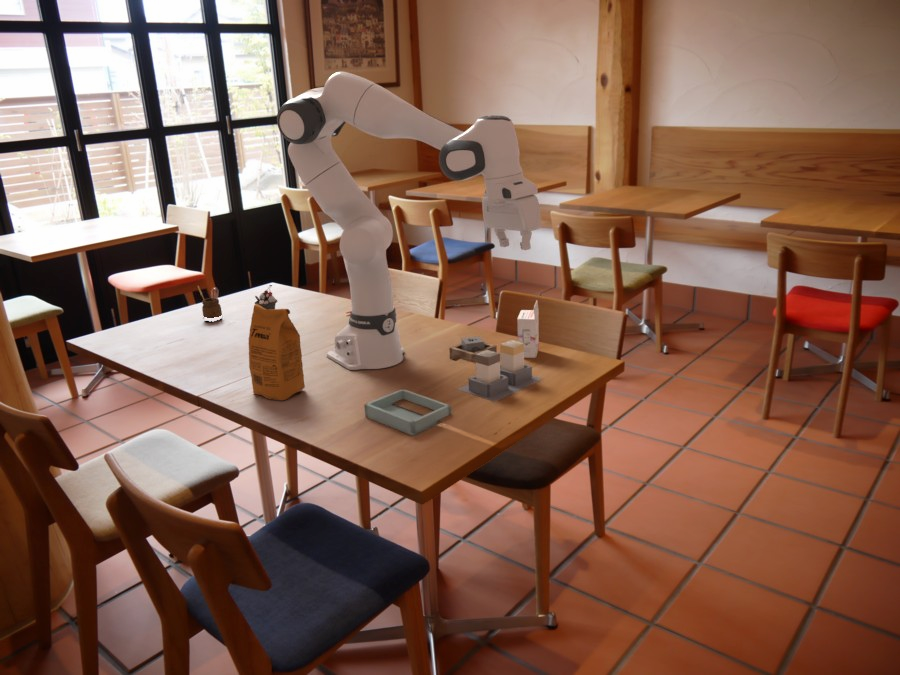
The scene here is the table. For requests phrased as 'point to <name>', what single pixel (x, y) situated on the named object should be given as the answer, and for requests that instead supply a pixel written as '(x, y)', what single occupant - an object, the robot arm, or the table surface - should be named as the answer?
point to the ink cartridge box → (529, 331)
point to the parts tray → (406, 412)
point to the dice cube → (472, 344)
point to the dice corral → (458, 353)
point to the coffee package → (274, 354)
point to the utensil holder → (211, 306)
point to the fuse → (512, 356)
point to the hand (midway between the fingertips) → (515, 248)
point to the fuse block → (501, 384)
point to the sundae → (266, 300)
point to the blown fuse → (487, 366)
